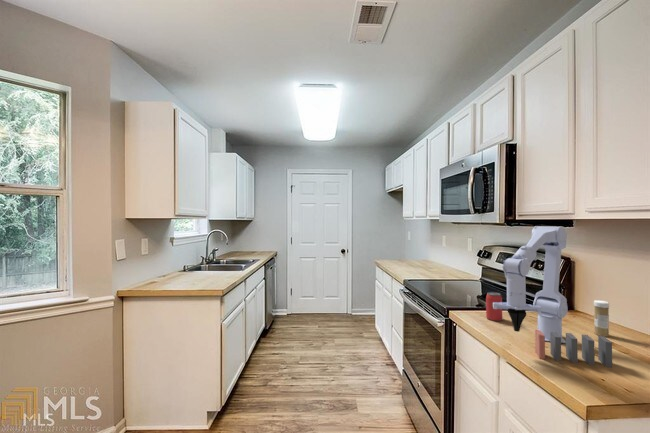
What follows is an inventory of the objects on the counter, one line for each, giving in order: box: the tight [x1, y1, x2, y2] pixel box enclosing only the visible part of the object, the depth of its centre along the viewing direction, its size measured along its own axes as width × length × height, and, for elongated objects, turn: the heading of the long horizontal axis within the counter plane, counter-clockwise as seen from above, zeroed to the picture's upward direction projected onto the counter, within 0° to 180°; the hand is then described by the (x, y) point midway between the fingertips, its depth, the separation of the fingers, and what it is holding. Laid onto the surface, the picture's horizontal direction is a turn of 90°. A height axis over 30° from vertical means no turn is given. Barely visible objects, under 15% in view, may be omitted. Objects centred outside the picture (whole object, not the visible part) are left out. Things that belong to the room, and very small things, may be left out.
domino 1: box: [549, 331, 562, 362], centre depth 106 cm, size 2×5×8 cm, turn 160°
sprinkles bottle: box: [593, 299, 610, 338], centre depth 124 cm, size 5×5×13 cm
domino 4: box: [597, 335, 613, 368], centre depth 101 cm, size 2×5×8 cm, turn 160°
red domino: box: [534, 329, 546, 360], centre depth 107 cm, size 2×5×8 cm, turn 159°
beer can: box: [485, 291, 503, 322], centre depth 144 cm, size 7×7×12 cm
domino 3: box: [581, 334, 596, 366], centre depth 103 cm, size 2×5×8 cm, turn 160°
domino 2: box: [565, 332, 579, 364], centre depth 104 cm, size 2×5×8 cm, turn 159°
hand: (516, 330), depth 110 cm, fingers closed
